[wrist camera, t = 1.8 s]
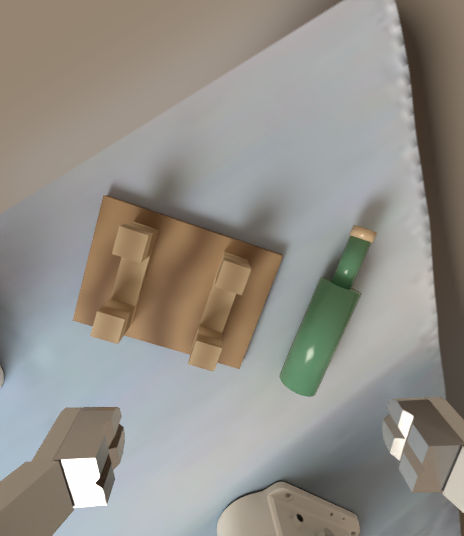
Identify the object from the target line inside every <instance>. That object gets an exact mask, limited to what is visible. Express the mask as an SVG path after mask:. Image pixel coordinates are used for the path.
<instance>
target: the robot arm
mask: <svg viewBox="0 0 464 536" xmlns="http://www.w3.org/2000/svg"><path fill="white" fill-rule="evenodd" d="M386 409H387V410H388V412H389V413H390V414H389V415H387V416H386V417H385V418H384V419H383V423H382V435H383V439H384V442H385V445H386V447H387V448H388V450H389V452H390V454H392V455H393V456H394V457H396V458H397V459H398V460H399V470H400V472H401V474H402V475H403V477H404V479H405V481H406V483H407V484H408V486H409V488H410V490H411V491H412V492H443V495H444V496H445V497H446V498H448V499H449V500H450V501H451V502H452V503H453V504H454V505H455V506H456V507H458V508H459V509H460V510H461V511H462V512H463V513H464V420H463V419H462V418H461V417H460V415H459V414H458V413H457V412H456V411H455V410H454V409H453V408H452V406H451V405H450V404H449V403H448V402H447V401H446V400H445V399H443V398H441V397H426V398H398V399H391V400H390V401H388V404H387V407H386ZM120 419H121V411H120V408H118V407H83V408H65V409H64V410H63V411H62V412H61V413H60V414H59V416H58V418H57V419H56V421H55V423H54V424H53V426H52V428H51V430H50V431H49V433H48V435H47V436H46V438H45V440H44V441H43V443H42V445H41V446H40V448H39V450H38V451H37V453H36V455H35V456H34V458H33V460H32V461H31V462H25V463H24V464H22V465H21V466H20V467H18V468H17V469H16V470H15V471H13V472H12V473H11V474H9V475H8V476H7V477H6V478H4V479H3V480H2V481H0V536H52V535H53V534H54V533H55V532H56V530H57V529H58V528H59V527H60V526H61V524H62V523H63V522H64V521H65V520H66V519H67V517H68V516H69V515H70V514H71V513H72V512H73V510H74V508H76V507H90V506H103V505H107V503H108V500H109V497H110V493H111V490H112V487H113V484H114V481H115V477H114V472H113V470H114V469H115V468H116V467H117V466H118V465H119V464H120V461H121V458H122V454H123V449H124V443H125V433H124V427H123V426H121V425H120V424H119V422H120ZM359 533H360V526H359V521H358V518H357V515H355V514H354V513H352V512H350V511H348V510H345V509H343V508H341V507H339V506H336V505H334V504H332V503H330V502H328V501H325V500H323V499H321V498H319V497H317V496H314V495H312V494H310V493H308V492H305V491H303V490H301V489H299V488H297V487H294V486H292V485H290V484H288V483H285V482H277V483H275V484H273V485H271V486H270V487H268V488H267V489H265V490H263V491H261V492H257V493H253V494H250V495H247V496H244V497H242V498H240V499H238V500H236V501H235V502H233V503H232V504H230V505H229V506H228V507H227V508H226V509H225V510H224V512H223V513H222V515H221V516H220V518H219V521H218V524H217V536H359Z"/></svg>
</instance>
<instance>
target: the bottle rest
mask: <svg viewBox="0 0 464 536" xmlns="http://www.w3.org/2000/svg"><path fill="white" fill-rule="evenodd" d="M282 257H283V256H282V255H281V254H278V253H275V252H272V251H269V250H266V249H263V248H260V247H258V246H255V245H252V244H249V243H246V242H243V241H240V240H237V239H234V238H231V237H228V236H225V235H222V234H219V233H216V232H213V231H210V230H207V229H204V228H202V227H199V226H196V225H193V224H190V223H187V222H184V221H181V220H178V219H175V218H172V217H169V216H166V215H163V214H160V213H157V212H154V211H151V210H148V209H145V208H143V207H140V206H137V205H134V204H131V203H128V202H125V201H122V200H119V199H116V198H113V197H110V196H103V200H102V204H101V208H100V212H99V216H98V220H97V224H96V228H95V232H94V236H93V240H92V245H91V249H90V253H89V257H88V261H87V265H86V269H85V273H84V277H83V281H82V285H81V289H80V294H79V298H78V302H77V306H76V310H75V314H74V318H73V321H76V322H80V323H83V324H87V325H90V326H93V328H92V332H91V336H92V337H95V338H99V339H102V340H106V341H109V342H113V343H116V344H118V343H119V342H120V340H121V339H122V337H123V336H124V335H125V336H128V337H132V338H135V339H138V340H142V341H145V342H149V343H152V344H156V345H159V346H163V347H166V348H169V349H173V350H176V351H180V352H183V353H187V354H190V358H189V363H188V364H190V365H193V366H197V367H200V368H204V369H207V370H211V371H214V370H215V367H216V364H217V362H218V363H221V364H224V365H228V366H231V367H235V368H238V369H239V368H240V366H241V363H242V361H243V358H244V356H245V353H246V350H247V348H248V345H249V343H250V340H251V338H252V335H253V332H254V330H255V327H256V325H257V322H258V319H259V317H260V314H261V312H262V309H263V307H264V304H265V301H266V299H267V296H268V294H269V291H270V288H271V286H272V283H273V281H274V278H275V276H276V273H277V270H278V268H279V265H280V263H281V260H282Z"/></svg>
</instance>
